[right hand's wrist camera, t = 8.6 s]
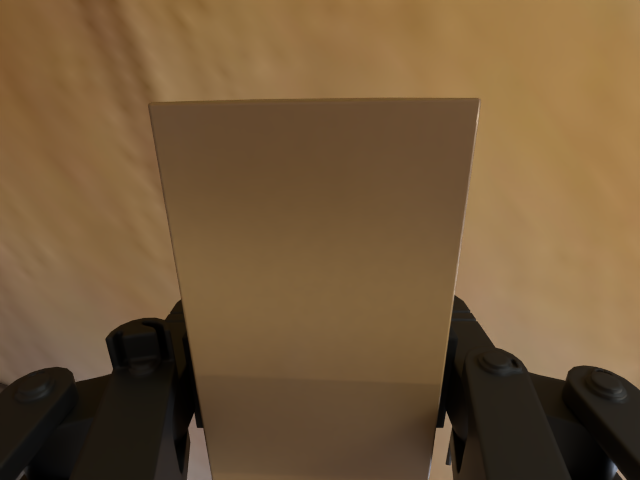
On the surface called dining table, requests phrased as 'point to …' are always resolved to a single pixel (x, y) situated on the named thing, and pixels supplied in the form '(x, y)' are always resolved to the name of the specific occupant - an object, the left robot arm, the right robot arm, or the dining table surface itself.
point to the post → (317, 276)
